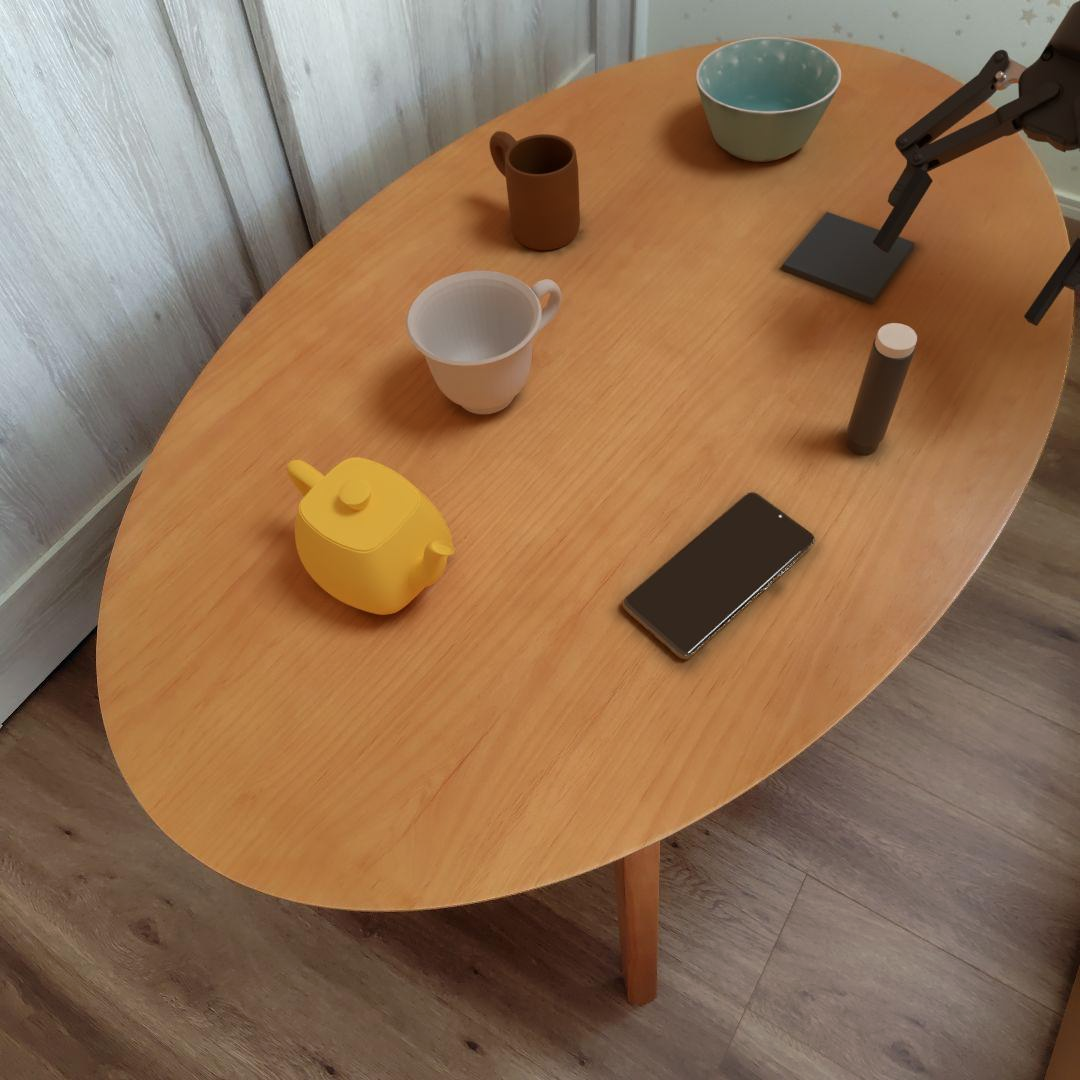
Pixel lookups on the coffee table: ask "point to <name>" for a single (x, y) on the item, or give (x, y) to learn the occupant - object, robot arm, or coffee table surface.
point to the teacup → (480, 335)
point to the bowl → (766, 95)
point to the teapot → (368, 534)
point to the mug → (539, 188)
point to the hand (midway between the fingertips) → (952, 283)
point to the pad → (847, 258)
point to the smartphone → (718, 574)
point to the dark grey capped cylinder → (880, 387)
